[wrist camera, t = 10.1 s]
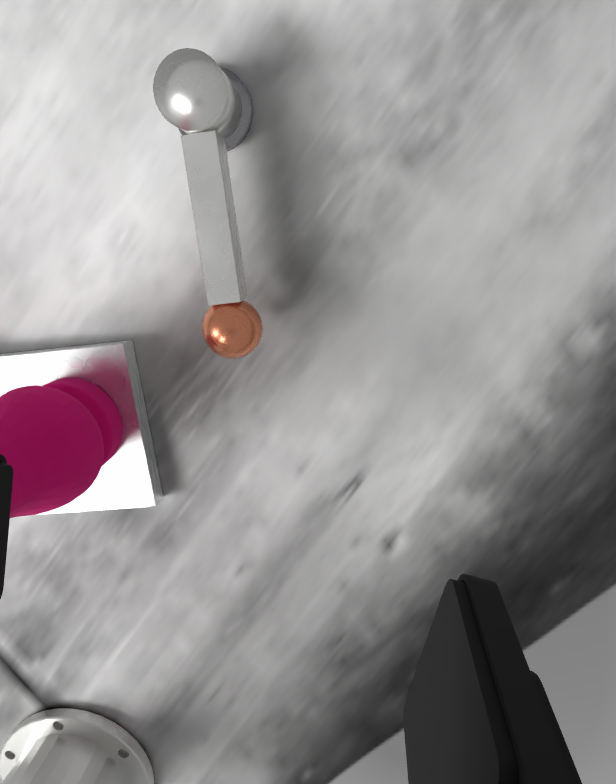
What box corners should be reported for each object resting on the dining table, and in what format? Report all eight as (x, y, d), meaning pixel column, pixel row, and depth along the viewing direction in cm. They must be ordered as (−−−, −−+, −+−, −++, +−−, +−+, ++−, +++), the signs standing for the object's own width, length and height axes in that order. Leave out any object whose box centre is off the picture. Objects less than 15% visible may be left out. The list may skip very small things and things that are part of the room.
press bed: (301, 486, 38) (271, 608, 25) (-48, 511, 41) (-229, 630, 28) (246, 63, 31) (169, -54, 19) (-163, 130, 35) (-461, 67, 22)
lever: (173, 77, 31) (144, 52, 27) (237, 67, 31) (217, 40, 27) (217, 352, 35) (198, 367, 31) (274, 346, 35) (262, 360, 30)
